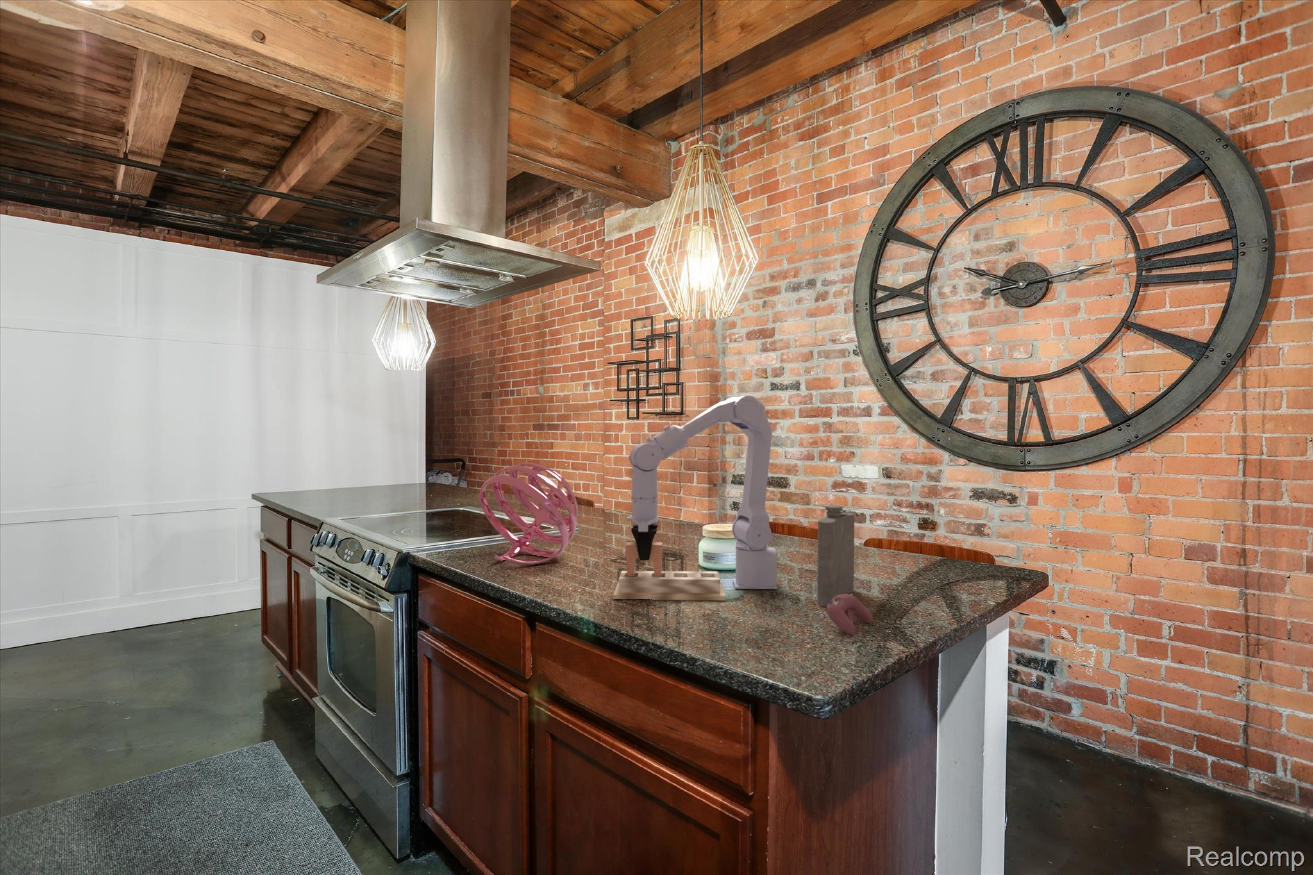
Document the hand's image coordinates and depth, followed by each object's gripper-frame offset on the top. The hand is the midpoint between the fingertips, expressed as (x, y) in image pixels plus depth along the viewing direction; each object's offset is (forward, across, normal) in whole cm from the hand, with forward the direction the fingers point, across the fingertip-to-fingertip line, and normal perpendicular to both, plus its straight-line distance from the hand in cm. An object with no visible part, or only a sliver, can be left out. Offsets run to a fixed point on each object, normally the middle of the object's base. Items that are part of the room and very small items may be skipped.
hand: (644, 558), depth 142 cm
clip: (+4, 0, 0) cm, 4 cm away
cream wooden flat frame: (+8, 0, +6) cm, 10 cm away
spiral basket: (+8, -32, -32) cm, 46 cm away
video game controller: (+8, +22, +40) cm, 46 cm away
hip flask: (+8, +2, +42) cm, 42 cm away
